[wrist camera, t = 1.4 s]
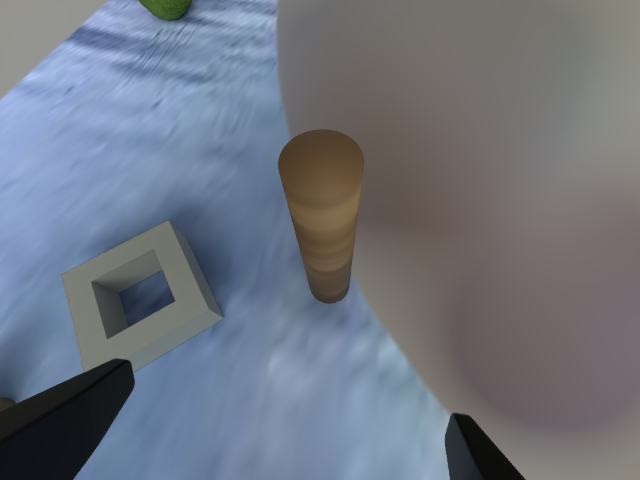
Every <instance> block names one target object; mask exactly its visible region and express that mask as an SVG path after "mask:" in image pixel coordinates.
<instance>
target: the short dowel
mask: <svg viewBox="0 0 640 480" xmlns="http://www.w3.org/2000/svg"><path fill="white" fill-rule="evenodd" d="M13 405H15V403H14V402H13V401H12V400H11V399H9V398H0V411H2V410H4V409H6V408H8V407H10V406H13Z"/></svg>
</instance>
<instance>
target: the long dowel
mask: <svg viewBox="0 0 640 480" xmlns="http://www.w3.org/2000/svg"><path fill="white" fill-rule="evenodd" d="M363 166H364V157H363V154H362V151H361V149H360V147H359V146H358V145H357V143H356V142H355V141H354V140H353V139H351V138H350V137H348V136H347V135H345V134H343V133H340V132H337V131H332V130H314V131H308V132H305V133H303V134H300V135H298V136H297V137H295V138H293V139H292V140H291V141H290V142H288V143H287V145H286V146H285V147H284V148H283V150H282V152H281V154H280V157H279V161H278V169H279V173H280V177H281V181H282V184H283V188H284V192H285V195H286V199H287V203H288V207H289V210H290V214H291V218H292V222H293V225H294V229H295V233H296V237H297V240H298V244H299V248H300V252H301V255H302V259H303V263H304V267H305V270H306V274H307V278H308V282H309V285H310V289H311V292H312V294H313V295H314V297H315V298H316V299H318V300H319V301H321V302H323V303H336V302H338V301H340V300H341V299H343V298H344V297H345V295H346V294H347V292H348V289H349V282H350V273H351V265H352V257H353V248H354V240H355V232H356V224H357V216H358V207H359V199H360V191H361V182H362V175H363Z"/></svg>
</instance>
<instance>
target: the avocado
mask: <svg viewBox="0 0 640 480" xmlns="http://www.w3.org/2000/svg"><path fill="white" fill-rule="evenodd" d="M139 2H140V3H141V4H142V5H143V6H144V7H145V8H147V9H148V10H149V11H150V12H151V13H152V14H154V15H155V16H157V17H159V18H163V19H166V20H172V19H179V18H180V17H181V16H182V15H183V14H184V13H186V11H187V10H188V8H189V6H190V4H191V2H192V0H139Z"/></svg>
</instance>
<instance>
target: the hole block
mask: <svg viewBox="0 0 640 480" xmlns="http://www.w3.org/2000/svg"><path fill="white" fill-rule="evenodd" d="M161 270H163V272H164V274H165V277H166V279H167V282H168V284H169V287H170V289H171V292H172V294H173V297H174V299H175V302H173V303H171V304H169V305H168V306H166V307H164V308H162V309H161V310H159V311H157V312H155V313H153V314H152V315H150V316H148V317H146V318H145V319H143V320H141V321H139V322H137V323H136V324H134V325H132V326H130V327H129V324H128V321H127V318H126V314H125V311H124V308H123V305H122V302H121V299H120V296H119V293H120V292H122V291H124V290H126V289H128V288H130V287H131V286H133V285H135V284H137V283H139V282H141V281H143V280H144V279H146V278H148V277H150V276H152V275H154V274H156V273H157V272H159V271H161ZM61 275H62V279H63V284H64V288H65V292H66V296H67V301H68V305H69V309H70V314H71V318H72V322H73V326H74V331H75V335H76V339H77V344H78V348H79V352H80V356H81V361H82V365H83V369H84V372H86V371H88V370H90V369H93V368H95V367H97V366H99V365H101V364H103V363H106V362H108V361H110V360H112V359H115V358H120V359H126V360H130V362H131V363H132V368H133V372H135V371H137V370H138V369H140V368H142V367H143V366H145V365H147V364H148V363H150V362H152V361H153V360H155V359H157V358H158V357H160V356H162V355H163V354H165V353H167V352H169V351H170V350H172V349H174V348H175V347H177V346H179V345H180V344H182V343H184V342H185V341H187V340H189V339H190V338H192V337H194V336H195V335H197V334H199V333H200V332H202V331H204V330H205V329H207V328H209V327H210V326H212V325H214V324H215V323H217V322H219V321H220V320H222V319H224V317H223V315H222V313H221V311H220V309H219V306H218V304H217V302H216V300H215V298H214V296H213V294H212V292H211V289H210V287H209V285H208V283H207V281H206V279H205V277H204V274H203V272H202V270H201V268H200V266H199V264H198V262H197V260H196V257H195V255H194V253H193V251H192V249H191V247H190V245H189V242H188V240H187V238H186V237H185V236H184V235H183V234H182V233H181V232H180V231H179V230H178V229H177V228H176V227H175V226H174V225H173V224H172V223H171V222H170V221H169V220H168V221H166V222H164V223H162V224H160V225H158V226H156V227H154V228H152V229H150V230H148V231H146V232H144V233H142V234H140V235H138V236H136V237H134V238H132V239H130V240H128V241H126V242H124V243H122V244H120V245H118V246H116V247H114V248H112V249H110V250H108V251H106V252H104V253H102V254H100V255H99V256H97V257H95V258H93V259H91V260H89V261H87V262H85V263H83V264H81V265H79V266H77V267H75V268H73V269H71V270H69V271H67V272H65V273H63V274H61Z"/></svg>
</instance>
